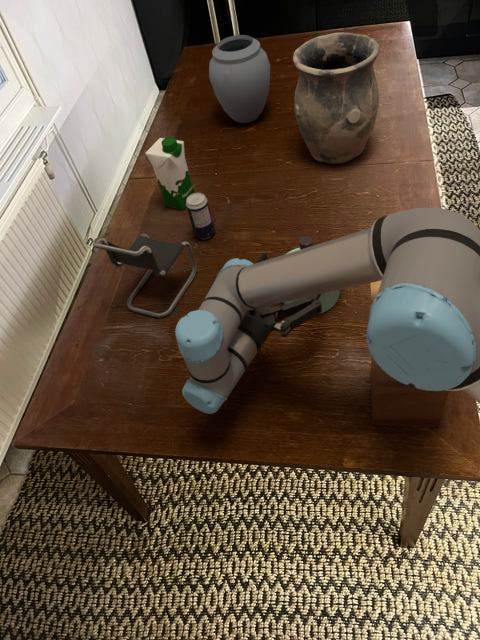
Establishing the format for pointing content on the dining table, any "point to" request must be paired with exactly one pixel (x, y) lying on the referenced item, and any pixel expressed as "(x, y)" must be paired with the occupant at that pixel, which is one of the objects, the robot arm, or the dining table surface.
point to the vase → (240, 77)
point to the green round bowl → (324, 300)
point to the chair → (148, 263)
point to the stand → (402, 396)
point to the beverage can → (200, 215)
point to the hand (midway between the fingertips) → (294, 266)
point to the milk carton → (171, 171)
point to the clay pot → (336, 95)
